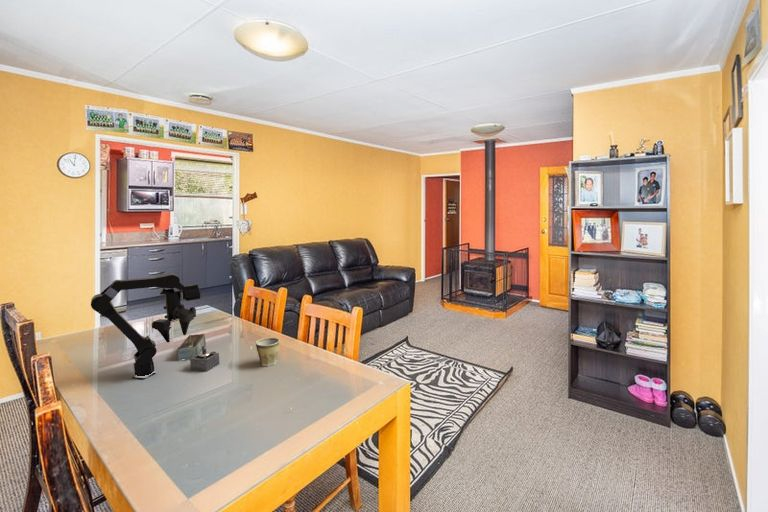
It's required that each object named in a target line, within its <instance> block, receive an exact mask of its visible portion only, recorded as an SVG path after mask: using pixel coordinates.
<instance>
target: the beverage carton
mask: <svg viewBox="0 0 768 512" xmlns="http://www.w3.org/2000/svg"><path fill="white" fill-rule="evenodd" d="M205 334H206V333H200V334H191V335H187V337H186V338H185V340H184V341H183V342H182V343H181V344H180V345H179V347H178V348H177V358H178V361H179V360H181V361H183V360H182V359H190V358H192V357H194V356H196V355H198V354H200V352H201V353H202V346H206V345H207V343H206V335H205Z"/></svg>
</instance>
